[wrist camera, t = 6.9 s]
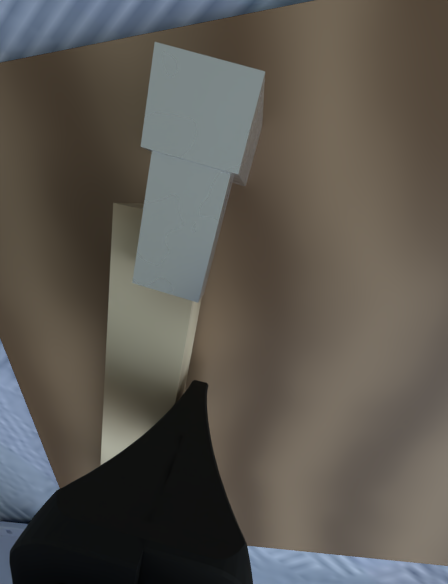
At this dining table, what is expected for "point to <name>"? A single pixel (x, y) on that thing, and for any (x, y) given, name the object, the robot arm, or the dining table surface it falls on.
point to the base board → (259, 267)
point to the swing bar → (140, 343)
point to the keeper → (193, 163)
